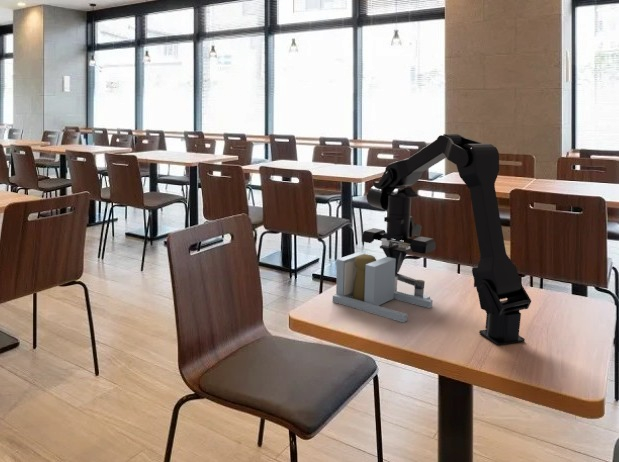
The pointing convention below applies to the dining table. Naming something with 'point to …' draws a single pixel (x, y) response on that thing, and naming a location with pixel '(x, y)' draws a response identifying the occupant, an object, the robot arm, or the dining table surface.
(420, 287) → the lock handle
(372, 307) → the vise bed
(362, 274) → the cork
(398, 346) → the dining table surface
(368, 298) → the block
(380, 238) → the robot arm
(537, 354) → the dining table surface
